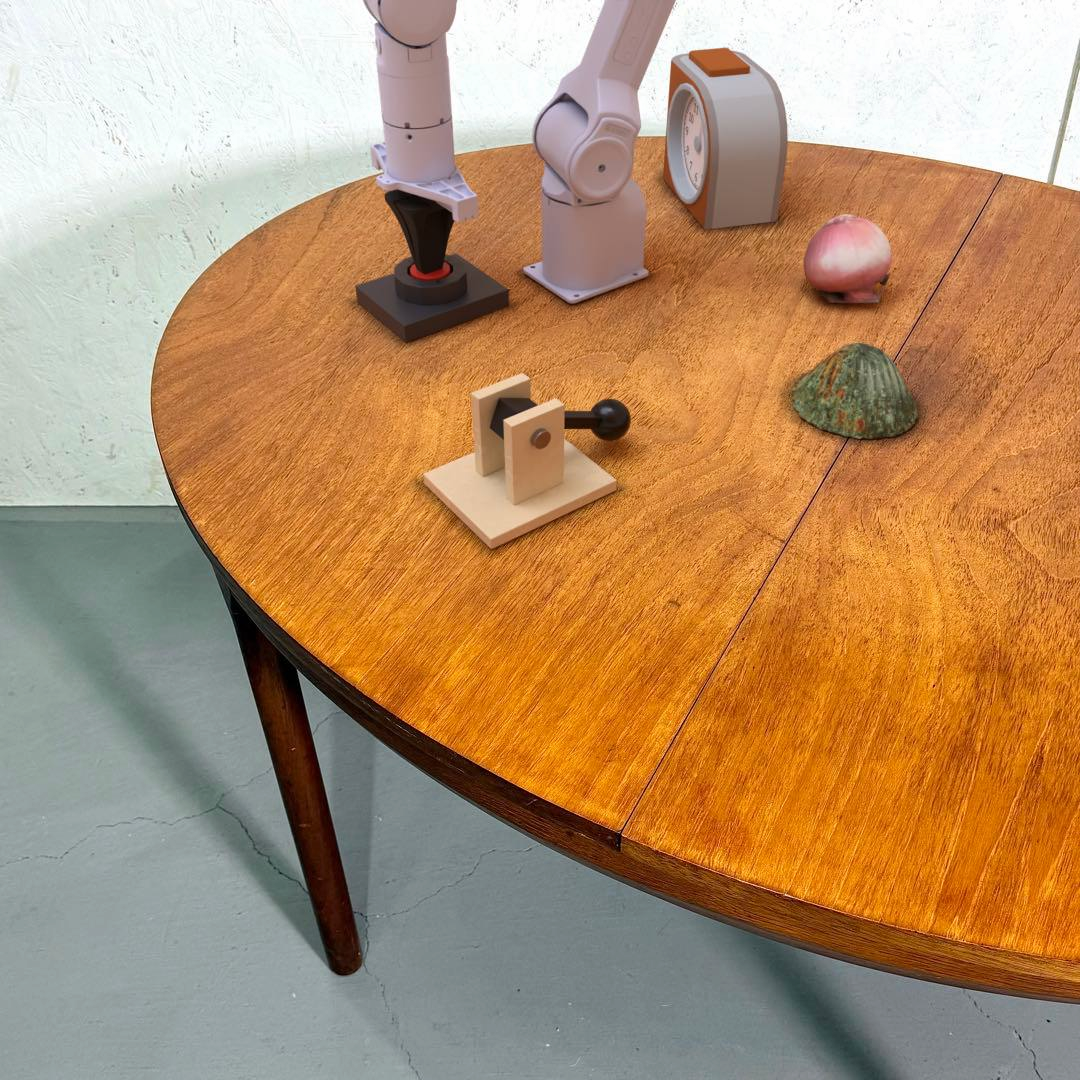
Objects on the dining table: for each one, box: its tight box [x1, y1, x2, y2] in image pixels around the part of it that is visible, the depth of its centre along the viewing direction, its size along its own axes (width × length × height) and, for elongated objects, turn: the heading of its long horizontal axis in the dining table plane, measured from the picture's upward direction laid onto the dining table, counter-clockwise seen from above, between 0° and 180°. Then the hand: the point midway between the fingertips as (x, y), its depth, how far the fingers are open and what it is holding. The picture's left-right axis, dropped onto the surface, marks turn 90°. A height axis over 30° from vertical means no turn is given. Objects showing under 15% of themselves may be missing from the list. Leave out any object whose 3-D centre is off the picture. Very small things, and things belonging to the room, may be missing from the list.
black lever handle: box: [489, 398, 632, 442], centre depth 77 cm, size 12×3×3 cm, turn 126°
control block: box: [355, 253, 510, 344], centre depth 97 cm, size 11×9×4 cm
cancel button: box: [410, 262, 450, 281], centre depth 97 cm, size 4×4×2 cm
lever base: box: [422, 372, 617, 550], centre depth 75 cm, size 11×9×8 cm
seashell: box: [790, 342, 919, 440], centre depth 85 cm, size 10×4×10 cm
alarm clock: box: [662, 47, 789, 231], centre depth 111 cm, size 15×8×14 cm, turn 14°
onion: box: [803, 213, 893, 304], centre depth 97 cm, size 8×8×7 cm
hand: (429, 268), depth 96 cm, fingers closed, pressing on cancel button
